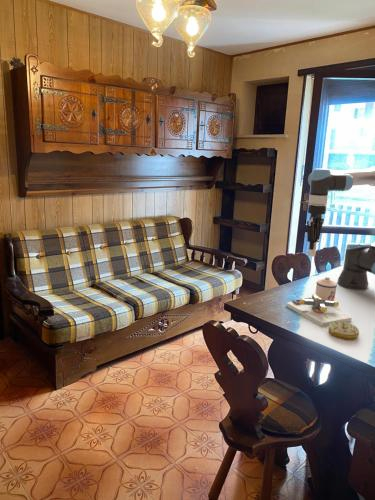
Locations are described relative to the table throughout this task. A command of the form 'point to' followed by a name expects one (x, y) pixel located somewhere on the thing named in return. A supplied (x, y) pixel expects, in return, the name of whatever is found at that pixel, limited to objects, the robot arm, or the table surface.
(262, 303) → the table surface
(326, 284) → the teacup with lid
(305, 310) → the level stand
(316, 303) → the capstan
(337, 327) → the olive yellow engraved disc
